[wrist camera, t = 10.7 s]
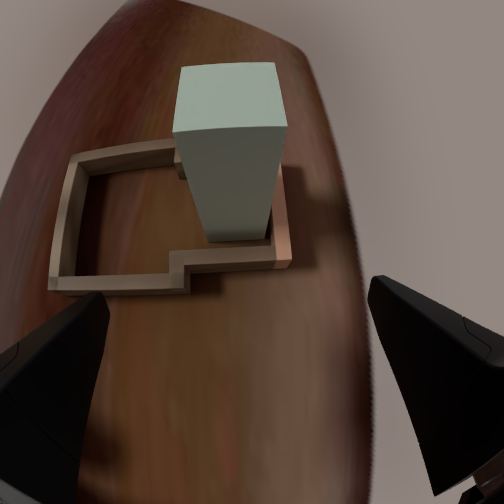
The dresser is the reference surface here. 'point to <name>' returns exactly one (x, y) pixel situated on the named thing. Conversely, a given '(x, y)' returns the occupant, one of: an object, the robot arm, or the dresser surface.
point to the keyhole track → (179, 261)
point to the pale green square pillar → (231, 145)
